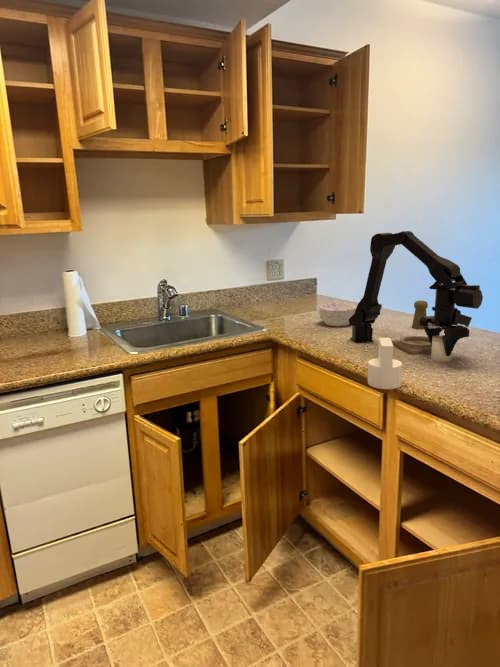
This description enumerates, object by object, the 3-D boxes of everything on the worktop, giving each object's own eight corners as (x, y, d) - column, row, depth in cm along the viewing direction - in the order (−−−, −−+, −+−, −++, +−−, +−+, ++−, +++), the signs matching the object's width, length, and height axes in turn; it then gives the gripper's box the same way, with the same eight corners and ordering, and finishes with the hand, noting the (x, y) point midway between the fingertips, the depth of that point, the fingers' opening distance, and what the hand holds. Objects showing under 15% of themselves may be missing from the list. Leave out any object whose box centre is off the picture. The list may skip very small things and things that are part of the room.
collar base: (409, 354, 157) (410, 347, 157) (390, 343, 171) (390, 336, 170) (448, 351, 160) (449, 344, 159) (426, 340, 173) (426, 334, 172)
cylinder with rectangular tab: (403, 389, 127) (405, 346, 124) (368, 388, 128) (369, 345, 126) (399, 378, 135) (400, 337, 133) (366, 377, 137) (367, 337, 134)
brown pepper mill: (428, 329, 189) (430, 302, 186) (412, 329, 190) (414, 302, 187) (426, 326, 195) (427, 299, 192) (410, 325, 196) (412, 299, 193)
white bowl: (340, 330, 193) (340, 310, 191) (312, 324, 204) (312, 306, 202) (362, 323, 202) (363, 305, 200) (334, 318, 213) (334, 301, 211)
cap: (437, 362, 148) (439, 340, 147) (427, 357, 154) (428, 336, 152) (455, 361, 149) (457, 339, 148) (444, 355, 155) (445, 334, 153)
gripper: (487, 308, 140) (483, 359, 144) (451, 297, 158) (447, 343, 161) (453, 310, 138) (449, 362, 142) (420, 300, 156) (417, 345, 160)
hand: (441, 352), depth 151 cm, fingers open, 7 cm apart
